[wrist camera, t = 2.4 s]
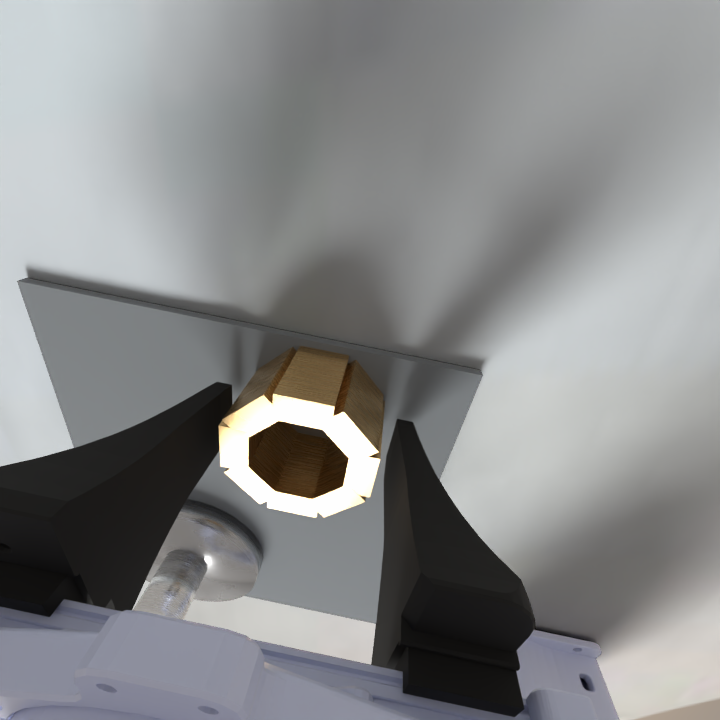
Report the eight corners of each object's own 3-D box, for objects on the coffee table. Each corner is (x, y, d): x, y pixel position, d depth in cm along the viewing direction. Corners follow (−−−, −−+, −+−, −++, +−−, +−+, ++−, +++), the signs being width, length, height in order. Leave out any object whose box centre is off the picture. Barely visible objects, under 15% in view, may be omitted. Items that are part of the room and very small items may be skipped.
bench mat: (480, 369, 13) (482, 375, 13) (379, 617, 23) (379, 624, 23) (26, 278, 14) (16, 280, 13) (119, 562, 24) (115, 568, 23)
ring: (394, 364, 13) (391, 418, 10) (368, 464, 16) (361, 527, 13) (255, 336, 13) (216, 382, 11) (253, 440, 16) (222, 498, 13)
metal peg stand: (265, 515, 19) (233, 595, 15) (261, 591, 23) (236, 668, 19) (120, 484, 19) (55, 557, 15) (142, 566, 23) (95, 638, 19)
